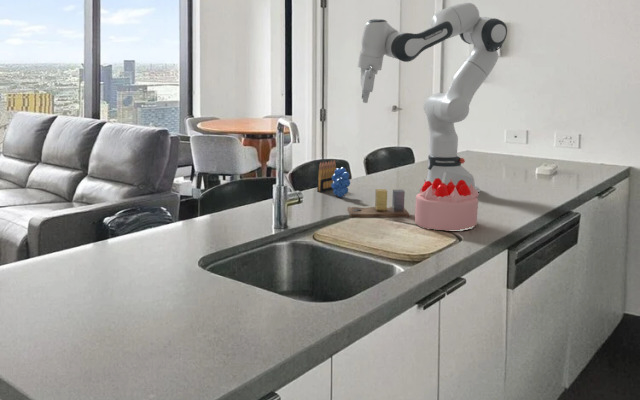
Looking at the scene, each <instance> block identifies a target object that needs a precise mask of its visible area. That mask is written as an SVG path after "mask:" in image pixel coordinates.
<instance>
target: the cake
mask: <svg viewBox="0 0 640 400" xmlns="http://www.w3.org/2000/svg"><path fill="white" fill-rule="evenodd" d="M426 180H427V179H424V183H423V185H422V186H421V188H420V189H419V192H418V193H417V194H416V195H415V207H414V208H415V210H414V211H415V212H414V214H415V215H414V222H415V225H416V224H417V225H416V226H418V227H419V226H420V228H422V227H424V228H423V229H425V228H429V229H436V230H446V231H449V230H460V229H465V228H469V227H472V226H475V225H476V226H477V222H478V208H479V206H478V204H479V198H478V197H479V196H480V192H479V193H478V191H477V190H476V189H475V188H474V187H473V186H472V183H471V185H470V187H468V185H467V184H466V182H465V181H464V180H460V181H459V182H458V183H457V185H455V184H454V183H453V181H452V179H451V178H450V182H449V183H448V184H447V186H446V184H445V183H442V181H441V179H439V178H436V179H435V180H434V181H433V183H431V182H430V181H426ZM429 229H428V230H429Z"/></svg>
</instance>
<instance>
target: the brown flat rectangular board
mask: <svg viewBox="0 0 640 400" xmlns="http://www.w3.org/2000/svg"><path fill="white" fill-rule="evenodd" d="M347 211H348V215H349V217H350V218H410V213H409V212H408V210H407V208H405V207H404V212H394V211H393V210H392V206H387V210H376V209H375V206H347Z"/></svg>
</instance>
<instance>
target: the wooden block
mask: <svg viewBox="0 0 640 400" xmlns="http://www.w3.org/2000/svg"><path fill="white" fill-rule="evenodd" d="M374 198H375V199H374V200H375V201H374V203H375V204H374V207H375V209H376V210H387V207H388V190H387V189H386V188H375V197H374Z"/></svg>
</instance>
